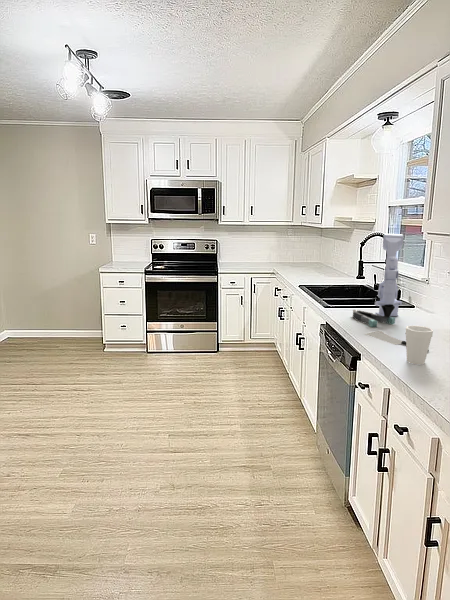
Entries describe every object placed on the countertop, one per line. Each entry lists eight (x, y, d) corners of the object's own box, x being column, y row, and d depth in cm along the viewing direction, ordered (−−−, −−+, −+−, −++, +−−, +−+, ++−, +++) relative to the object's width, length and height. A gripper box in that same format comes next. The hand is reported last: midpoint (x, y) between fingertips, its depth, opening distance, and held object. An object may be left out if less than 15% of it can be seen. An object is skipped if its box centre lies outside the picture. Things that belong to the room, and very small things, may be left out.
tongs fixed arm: (351, 318, 244) (352, 312, 243) (356, 318, 245) (357, 312, 244) (371, 327, 226) (372, 320, 225) (377, 326, 227) (377, 320, 226)
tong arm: (351, 316, 247) (352, 310, 246) (356, 315, 250) (356, 309, 249) (390, 324, 231) (390, 318, 230) (394, 323, 233) (395, 317, 233)
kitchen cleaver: (361, 333, 213) (378, 328, 217) (361, 336, 213) (378, 332, 217) (413, 353, 185) (432, 348, 189) (413, 357, 185) (432, 352, 189)
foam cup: (404, 364, 172) (408, 330, 169) (400, 357, 181) (403, 324, 178) (431, 366, 170) (436, 332, 168) (425, 359, 179) (429, 326, 177)
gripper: (381, 294, 228) (378, 321, 231) (406, 294, 232) (403, 320, 235) (373, 292, 235) (370, 318, 238) (398, 291, 239) (395, 317, 242)
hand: (386, 319), depth 237 cm, fingers closed
